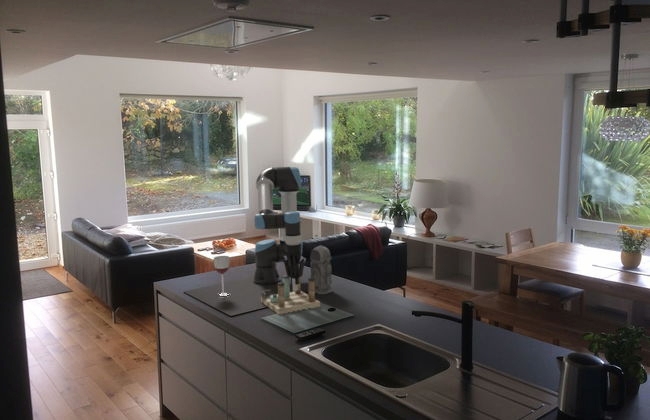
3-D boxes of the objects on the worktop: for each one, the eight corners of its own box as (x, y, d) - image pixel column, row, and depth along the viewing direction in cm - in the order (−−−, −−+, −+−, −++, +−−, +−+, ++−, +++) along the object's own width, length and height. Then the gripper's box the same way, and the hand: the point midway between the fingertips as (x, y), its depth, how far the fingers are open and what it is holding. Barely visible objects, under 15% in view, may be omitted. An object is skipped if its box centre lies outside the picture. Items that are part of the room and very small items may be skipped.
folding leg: (274, 303, 262) (274, 281, 261) (268, 301, 265) (267, 279, 263) (292, 297, 271) (291, 276, 269) (285, 295, 274) (285, 274, 272)
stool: (261, 301, 274) (260, 275, 272) (300, 295, 284) (300, 269, 282) (278, 314, 255) (277, 285, 253) (320, 306, 265) (319, 279, 263)
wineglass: (232, 292, 290) (231, 255, 287) (228, 297, 282) (226, 259, 279) (218, 292, 291) (216, 255, 288) (213, 297, 282) (211, 259, 280)
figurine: (323, 295, 282) (323, 248, 279) (306, 290, 293) (305, 244, 289) (337, 292, 289) (337, 245, 285) (320, 286, 299) (319, 241, 296)
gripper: (308, 242, 265) (310, 290, 269) (286, 241, 271) (288, 287, 275) (300, 246, 259) (302, 294, 262) (278, 244, 265) (280, 291, 268)
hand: (295, 290), depth 269 cm, fingers closed
